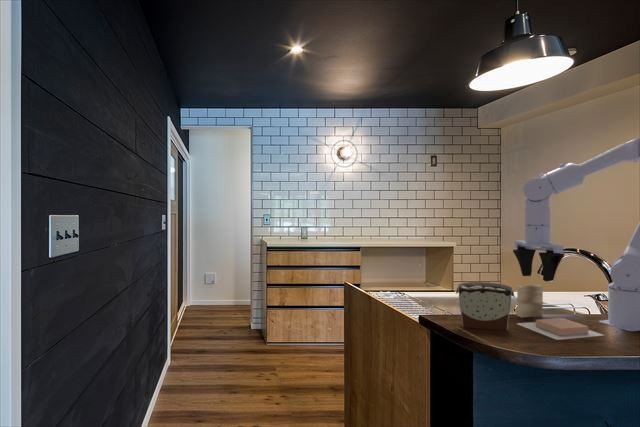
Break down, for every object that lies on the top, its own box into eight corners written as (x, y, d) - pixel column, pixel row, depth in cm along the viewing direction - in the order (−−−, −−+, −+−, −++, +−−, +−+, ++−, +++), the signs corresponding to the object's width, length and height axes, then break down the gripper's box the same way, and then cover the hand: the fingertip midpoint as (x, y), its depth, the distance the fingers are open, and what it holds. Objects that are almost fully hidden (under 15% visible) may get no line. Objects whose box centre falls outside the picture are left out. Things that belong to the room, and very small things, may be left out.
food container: (509, 325, 95) (509, 282, 94) (514, 333, 89) (514, 287, 89) (454, 321, 98) (454, 280, 98) (455, 328, 92) (455, 285, 92)
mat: (559, 322, 97) (559, 320, 97) (604, 337, 85) (604, 335, 85) (515, 325, 94) (515, 323, 94) (556, 342, 82) (556, 339, 82)
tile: (561, 317, 93) (588, 326, 86) (561, 324, 93) (588, 333, 86) (536, 319, 91) (560, 328, 84) (536, 326, 91) (560, 336, 85)
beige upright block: (537, 316, 102) (537, 284, 102) (542, 318, 101) (542, 286, 101) (517, 317, 101) (517, 286, 101) (521, 319, 99) (521, 287, 99)
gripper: (504, 224, 110) (504, 274, 110) (545, 226, 95) (545, 284, 96) (527, 224, 111) (527, 273, 111) (570, 226, 97) (570, 282, 97)
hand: (537, 278), depth 103 cm, fingers open, 7 cm apart
